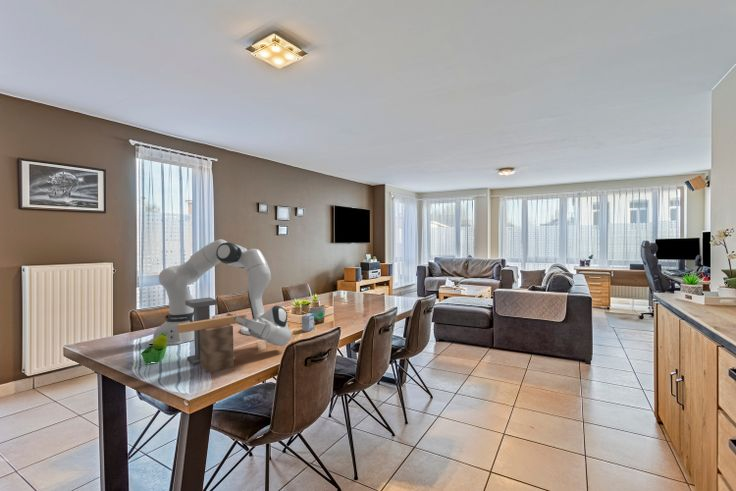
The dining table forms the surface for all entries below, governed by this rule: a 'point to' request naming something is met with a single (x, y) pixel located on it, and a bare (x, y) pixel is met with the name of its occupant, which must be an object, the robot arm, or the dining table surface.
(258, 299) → the robot arm
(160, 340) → the fruit basket
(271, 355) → the dining table surface
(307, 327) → the medicine box
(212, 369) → the pedestal
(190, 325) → the bar
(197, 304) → the stand
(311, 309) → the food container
